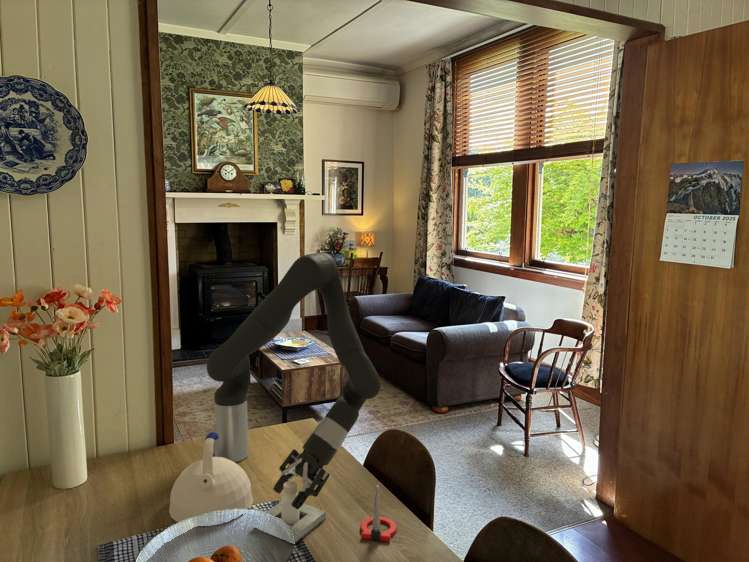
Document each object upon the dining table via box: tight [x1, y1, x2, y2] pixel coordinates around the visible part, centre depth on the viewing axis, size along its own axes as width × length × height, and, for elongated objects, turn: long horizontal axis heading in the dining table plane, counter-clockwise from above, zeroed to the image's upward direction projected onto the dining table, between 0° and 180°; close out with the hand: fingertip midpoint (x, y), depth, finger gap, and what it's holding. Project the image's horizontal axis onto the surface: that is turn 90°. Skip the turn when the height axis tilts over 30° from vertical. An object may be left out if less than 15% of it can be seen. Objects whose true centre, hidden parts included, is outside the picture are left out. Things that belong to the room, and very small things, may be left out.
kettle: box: [168, 431, 254, 523], centre depth 141 cm, size 20×21×18 cm
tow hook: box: [360, 485, 398, 543], centre depth 132 cm, size 8×13×9 cm
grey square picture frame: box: [265, 500, 327, 543], centre depth 134 cm, size 12×12×2 cm
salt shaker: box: [280, 480, 299, 525], centre depth 134 cm, size 4×4×10 cm
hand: (285, 499), depth 132 cm, fingers open, 8 cm apart
